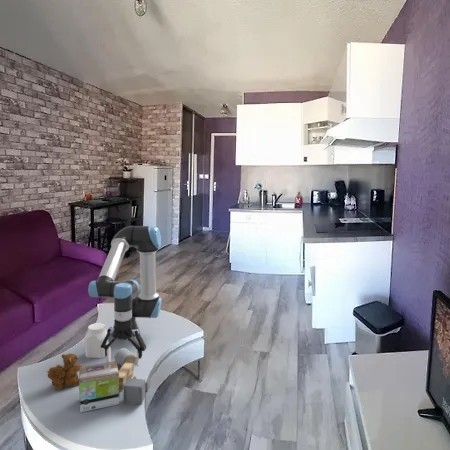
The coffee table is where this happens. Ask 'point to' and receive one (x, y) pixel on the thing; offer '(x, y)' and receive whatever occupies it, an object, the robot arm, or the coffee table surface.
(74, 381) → the stuffed squirrel
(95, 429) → the coffee table surface
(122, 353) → the ceramic mug
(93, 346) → the jar
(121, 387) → the tan rectangular block
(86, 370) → the tea box
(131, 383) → the gray bracket pieces
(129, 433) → the coffee table surface
